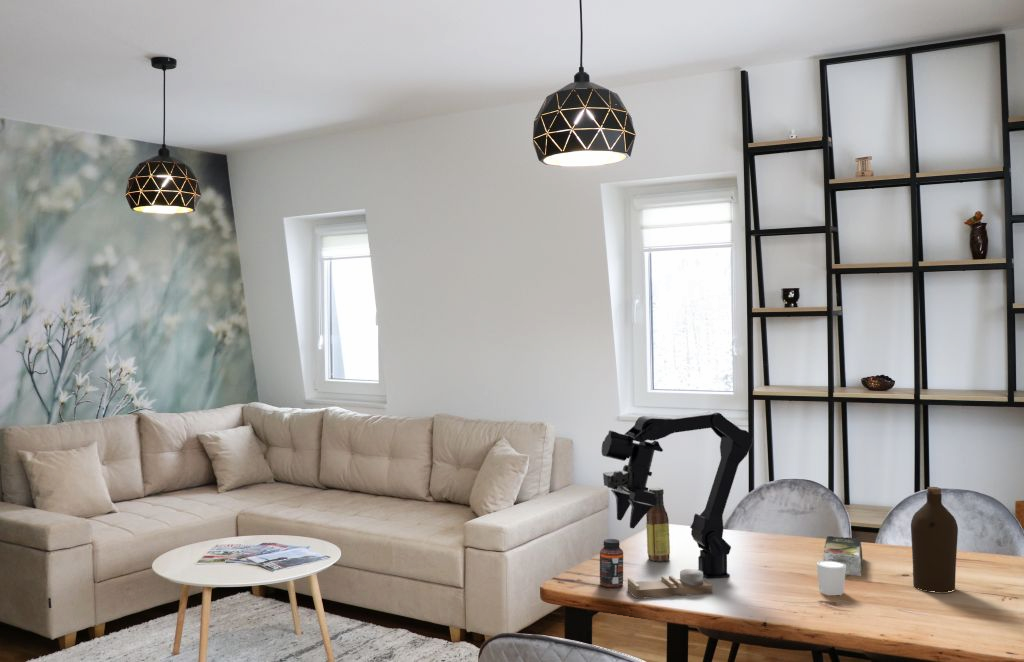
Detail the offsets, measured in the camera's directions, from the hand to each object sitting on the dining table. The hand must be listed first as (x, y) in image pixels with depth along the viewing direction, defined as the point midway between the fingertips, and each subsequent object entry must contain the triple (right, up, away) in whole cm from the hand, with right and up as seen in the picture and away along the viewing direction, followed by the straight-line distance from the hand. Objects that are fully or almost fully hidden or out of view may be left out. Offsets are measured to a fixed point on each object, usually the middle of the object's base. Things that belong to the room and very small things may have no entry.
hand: (625, 524), depth 226 cm
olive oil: (+76, -15, -6) cm, 78 cm away
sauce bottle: (+12, -15, +21) cm, 28 cm away
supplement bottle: (-4, -15, -3) cm, 16 cm away
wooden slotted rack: (+10, -15, -9) cm, 20 cm away
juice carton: (+61, -15, +14) cm, 65 cm away
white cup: (+49, -15, -10) cm, 53 cm away
